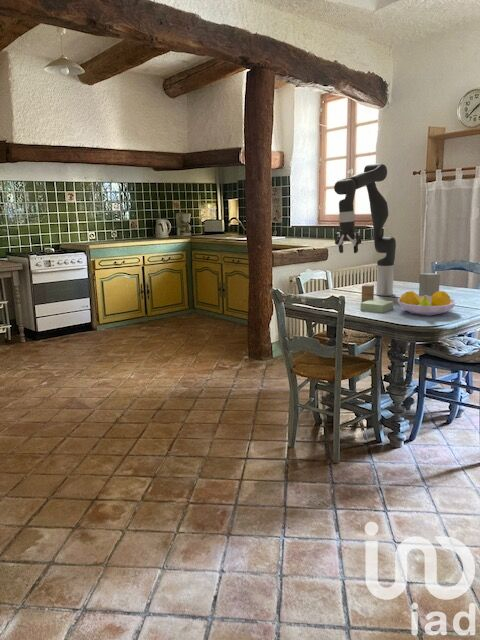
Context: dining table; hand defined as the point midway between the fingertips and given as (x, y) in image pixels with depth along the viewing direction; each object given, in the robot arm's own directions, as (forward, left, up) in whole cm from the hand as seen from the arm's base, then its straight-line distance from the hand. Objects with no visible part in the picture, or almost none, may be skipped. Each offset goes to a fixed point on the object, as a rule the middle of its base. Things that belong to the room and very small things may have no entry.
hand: (348, 252), depth 261 cm
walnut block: (-13, +5, -28) cm, 32 cm away
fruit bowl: (-7, +38, -29) cm, 48 cm away
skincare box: (-31, +31, -29) cm, 52 cm away
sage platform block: (-3, +15, -29) cm, 32 cm away
